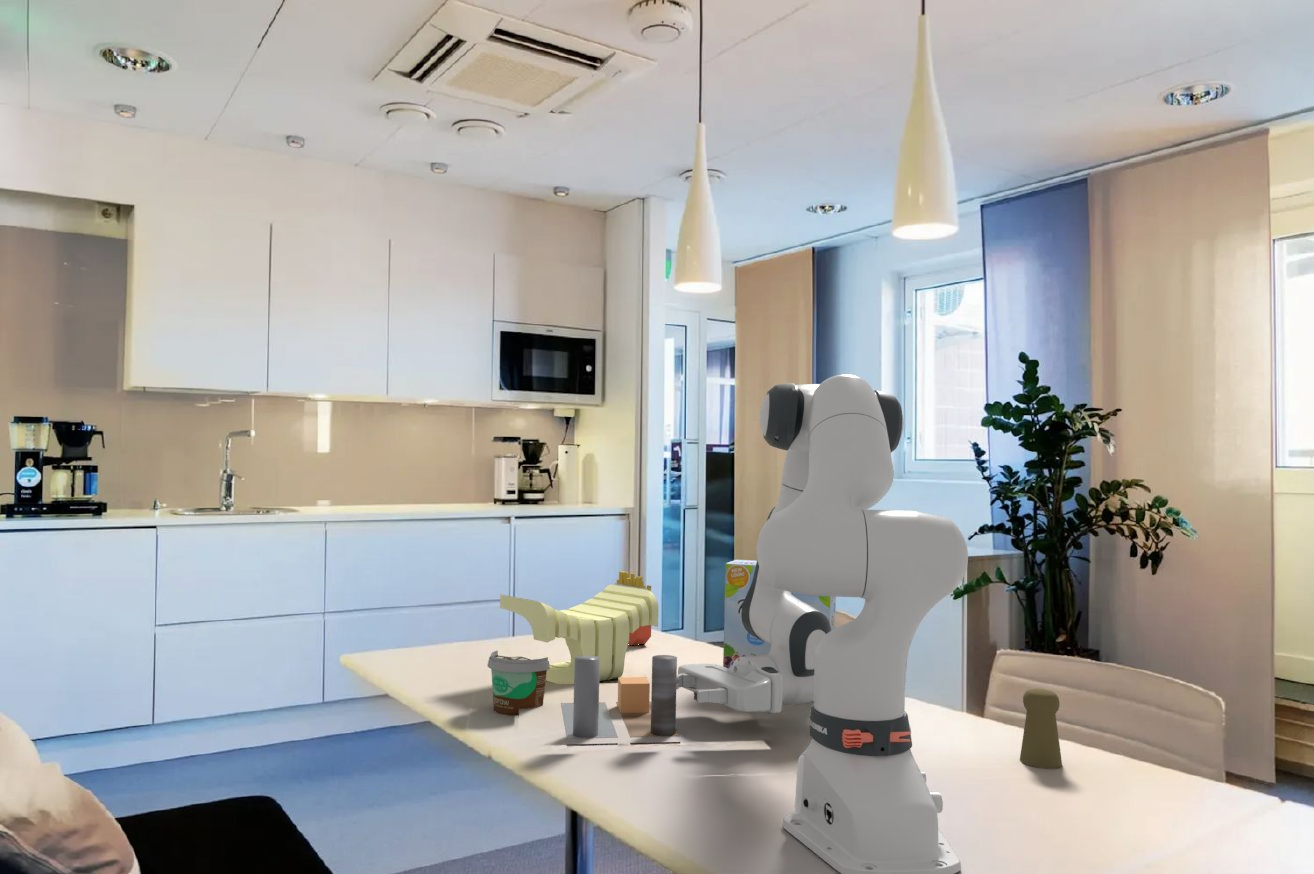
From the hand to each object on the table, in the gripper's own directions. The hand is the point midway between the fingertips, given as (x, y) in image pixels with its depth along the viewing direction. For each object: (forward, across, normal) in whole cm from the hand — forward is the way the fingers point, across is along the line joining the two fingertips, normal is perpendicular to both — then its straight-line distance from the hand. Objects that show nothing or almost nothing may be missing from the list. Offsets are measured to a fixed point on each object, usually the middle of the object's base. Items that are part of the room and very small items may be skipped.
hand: (681, 689), depth 147 cm
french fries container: (-31, -78, +8) cm, 84 cm away
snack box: (-34, -20, +8) cm, 41 cm away
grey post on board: (+2, -9, +8) cm, 12 cm away
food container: (+20, -26, +8) cm, 34 cm away
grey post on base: (+11, -12, +8) cm, 18 cm away
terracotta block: (+1, -15, +6) cm, 17 cm away
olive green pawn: (-45, +33, +8) cm, 56 cm away
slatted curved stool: (-3, -47, +8) cm, 48 cm away
